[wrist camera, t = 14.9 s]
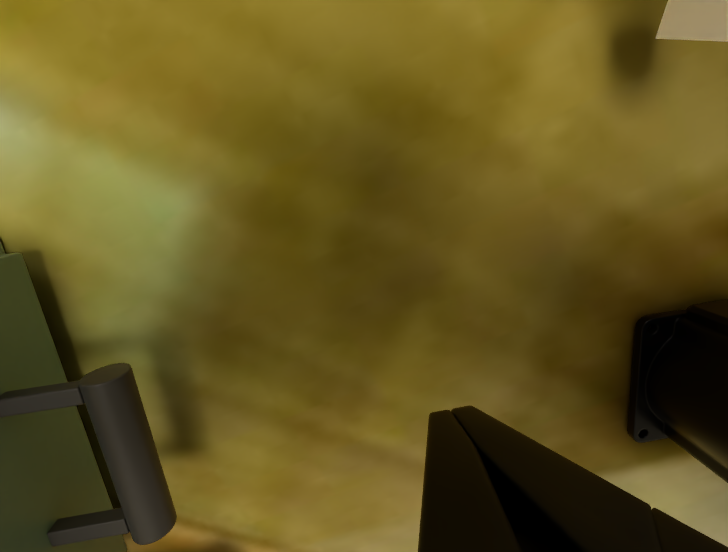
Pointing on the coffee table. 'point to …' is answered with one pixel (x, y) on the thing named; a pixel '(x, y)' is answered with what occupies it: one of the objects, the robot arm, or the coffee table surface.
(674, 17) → the mug
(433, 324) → the coffee table surface
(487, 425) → the robot arm
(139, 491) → the drawer
